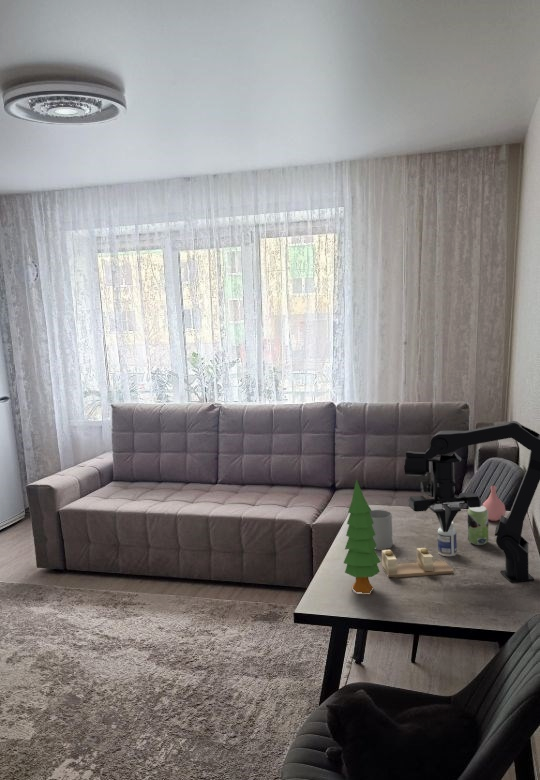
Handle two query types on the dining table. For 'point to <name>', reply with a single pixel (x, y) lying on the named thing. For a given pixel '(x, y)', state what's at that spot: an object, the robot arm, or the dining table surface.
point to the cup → (382, 528)
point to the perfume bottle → (494, 506)
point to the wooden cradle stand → (410, 567)
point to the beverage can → (478, 525)
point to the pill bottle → (447, 541)
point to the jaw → (425, 559)
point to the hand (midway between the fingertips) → (445, 531)
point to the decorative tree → (361, 543)
